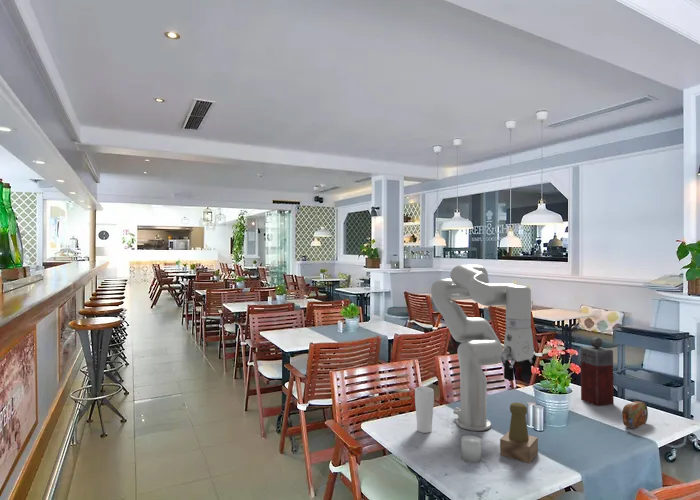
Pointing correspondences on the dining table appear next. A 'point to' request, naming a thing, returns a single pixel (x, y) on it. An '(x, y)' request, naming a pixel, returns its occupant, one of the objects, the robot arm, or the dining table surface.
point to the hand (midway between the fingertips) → (517, 377)
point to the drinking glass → (424, 408)
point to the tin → (635, 414)
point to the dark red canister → (597, 374)
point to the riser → (519, 448)
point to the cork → (518, 423)
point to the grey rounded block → (471, 449)
